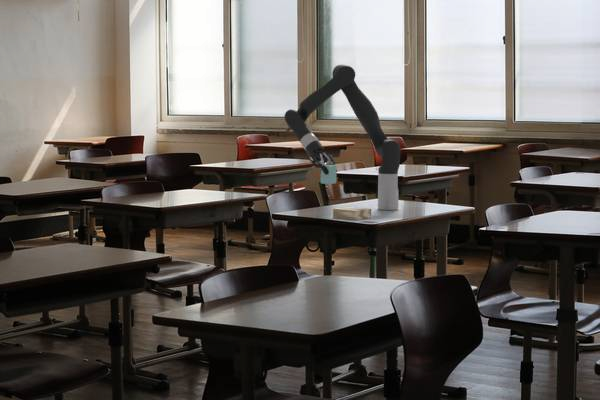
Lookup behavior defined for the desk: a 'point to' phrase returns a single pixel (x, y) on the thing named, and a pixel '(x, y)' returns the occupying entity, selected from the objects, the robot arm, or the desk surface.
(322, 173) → the teal block
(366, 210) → the block
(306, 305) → the desk surface
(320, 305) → the desk surface
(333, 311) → the desk surface
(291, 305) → the desk surface
